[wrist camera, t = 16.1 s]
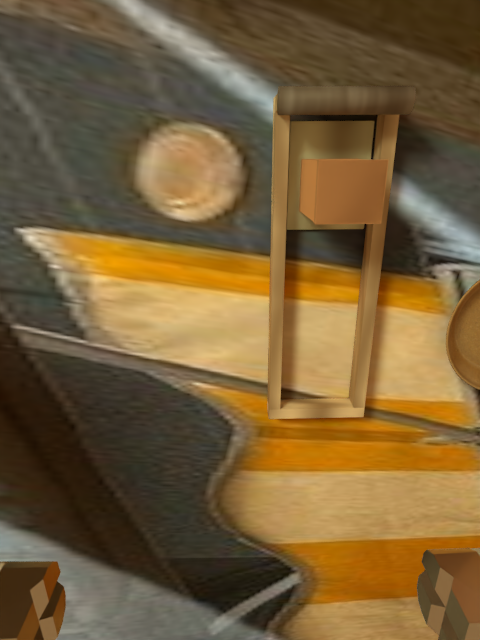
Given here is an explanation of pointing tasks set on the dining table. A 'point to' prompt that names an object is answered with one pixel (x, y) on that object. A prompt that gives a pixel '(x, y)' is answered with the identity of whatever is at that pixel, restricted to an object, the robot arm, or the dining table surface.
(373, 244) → the bay
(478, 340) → the plant saucer
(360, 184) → the orange brown block
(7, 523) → the dining table surface
